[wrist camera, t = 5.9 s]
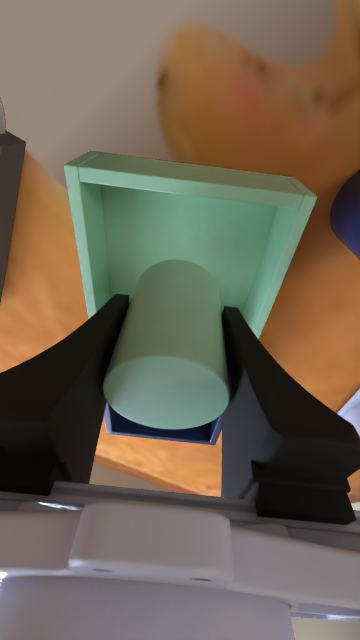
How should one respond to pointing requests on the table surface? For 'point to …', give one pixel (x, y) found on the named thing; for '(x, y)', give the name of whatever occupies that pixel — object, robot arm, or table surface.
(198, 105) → the table surface
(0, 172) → the electronic device
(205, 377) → the mint peg
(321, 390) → the table surface
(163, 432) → the navy tub
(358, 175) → the navy peg
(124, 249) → the mint tub
